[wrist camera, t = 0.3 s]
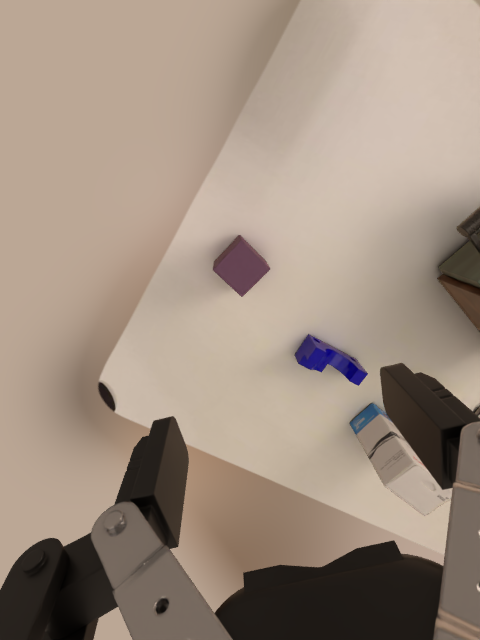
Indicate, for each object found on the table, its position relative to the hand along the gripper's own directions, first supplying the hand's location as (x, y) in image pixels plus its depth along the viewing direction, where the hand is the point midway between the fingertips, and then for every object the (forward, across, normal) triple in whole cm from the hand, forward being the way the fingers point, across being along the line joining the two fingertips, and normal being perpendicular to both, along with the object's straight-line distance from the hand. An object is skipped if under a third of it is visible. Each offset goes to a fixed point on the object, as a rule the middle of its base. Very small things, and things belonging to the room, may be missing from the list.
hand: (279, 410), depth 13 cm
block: (+30, 0, 0) cm, 30 cm away
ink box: (+30, -14, +30) cm, 45 cm away
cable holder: (+30, -8, +16) cm, 35 cm away
